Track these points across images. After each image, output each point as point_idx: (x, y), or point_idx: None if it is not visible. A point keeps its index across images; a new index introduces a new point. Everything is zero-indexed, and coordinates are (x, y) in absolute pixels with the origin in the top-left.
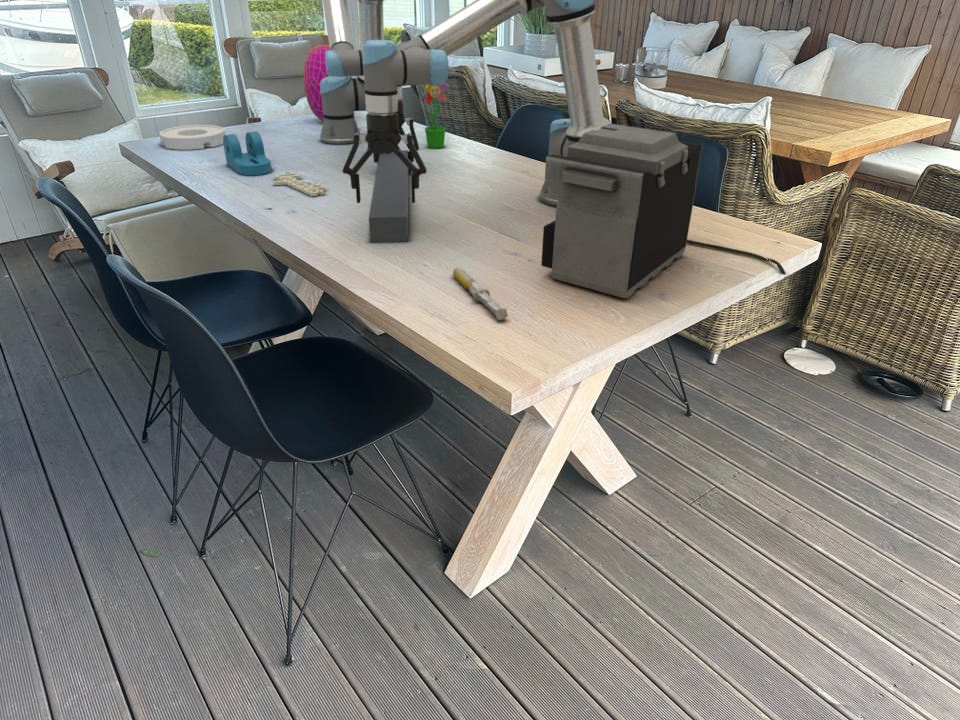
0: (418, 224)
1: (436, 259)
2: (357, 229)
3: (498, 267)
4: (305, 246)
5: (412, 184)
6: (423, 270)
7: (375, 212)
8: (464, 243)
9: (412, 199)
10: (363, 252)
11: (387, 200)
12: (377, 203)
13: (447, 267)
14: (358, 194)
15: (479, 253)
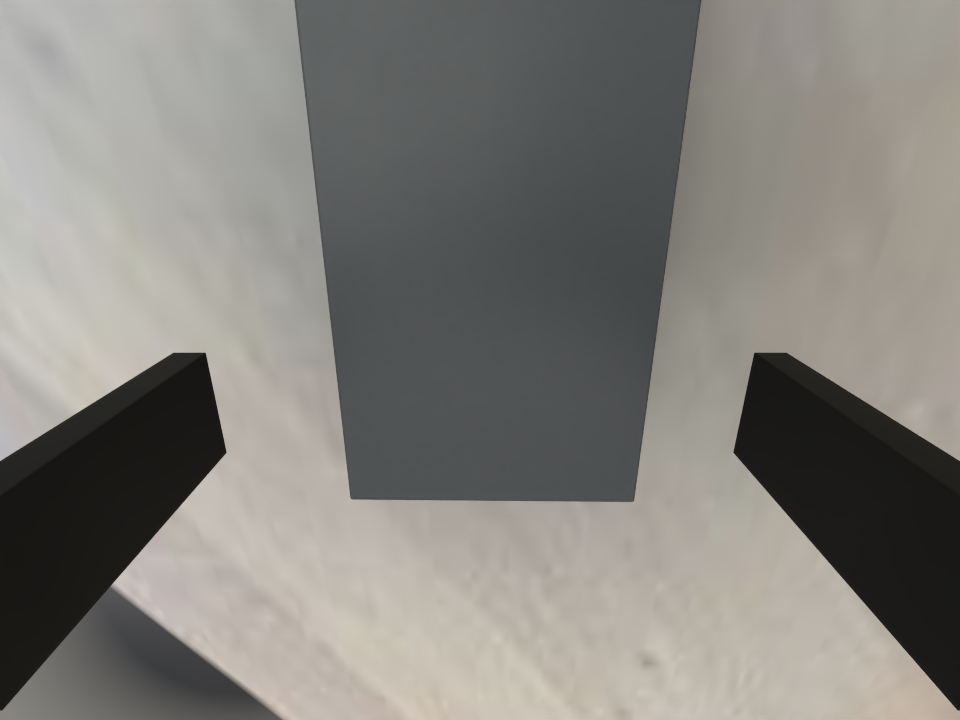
0: (707, 82)
1: (707, 615)
2: (265, 174)
3: None
4: None
5: (875, 596)
6: (633, 698)
7: (387, 399)
8: None
9: (756, 469)
10: (368, 528)
11: (477, 16)
12: (375, 134)
13: (735, 682)
14: (170, 504)
15: None
